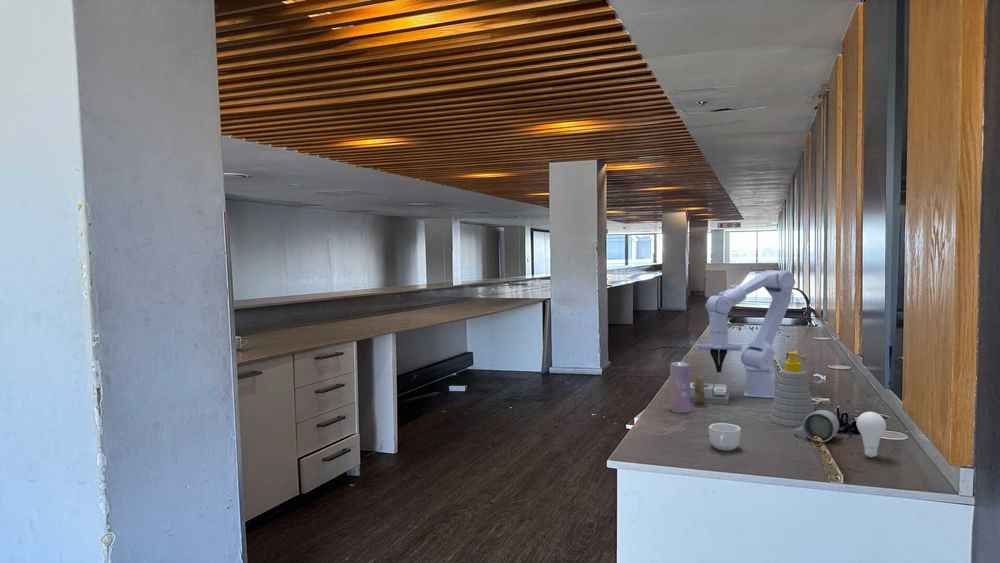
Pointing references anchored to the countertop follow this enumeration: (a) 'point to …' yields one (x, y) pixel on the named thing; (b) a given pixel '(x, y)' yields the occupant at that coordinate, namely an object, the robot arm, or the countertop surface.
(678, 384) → the beverage can
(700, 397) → the dowel
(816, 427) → the ceramic mug
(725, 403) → the grey fixture with socket
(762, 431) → the countertop surface
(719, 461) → the countertop surface
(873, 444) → the lightbulb
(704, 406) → the coaster
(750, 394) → the robot arm
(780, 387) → the soap bottle
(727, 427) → the teacup
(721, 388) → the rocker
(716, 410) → the countertop surface
